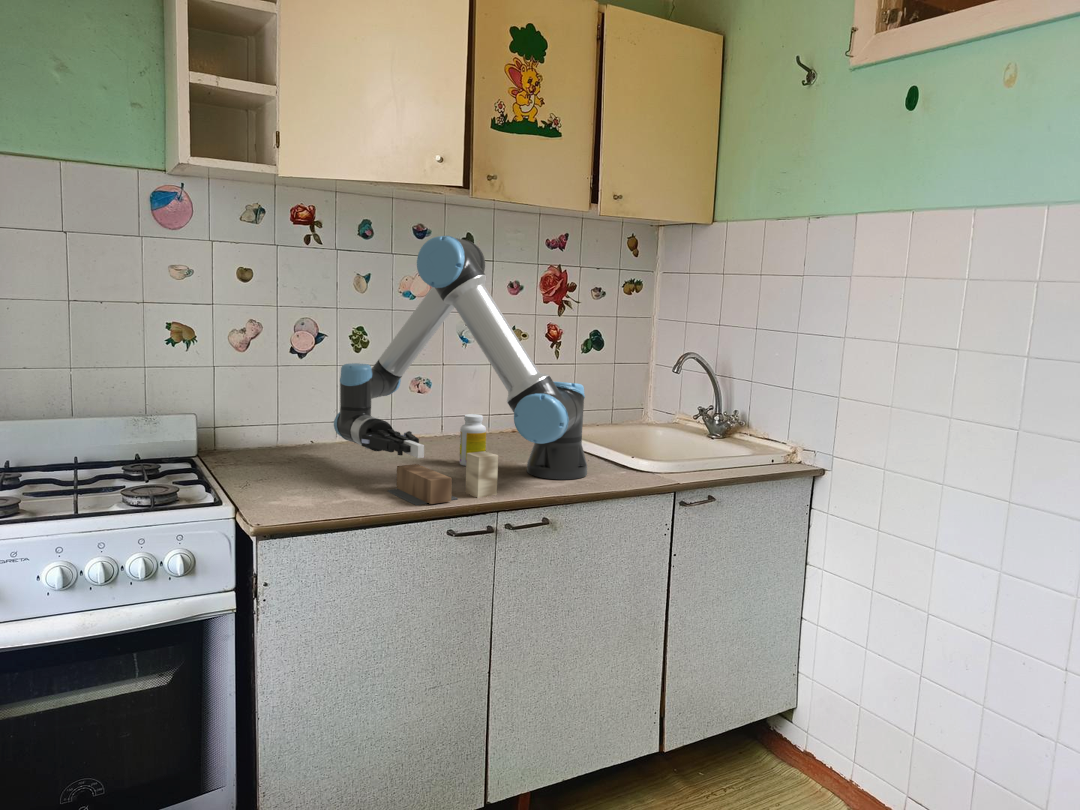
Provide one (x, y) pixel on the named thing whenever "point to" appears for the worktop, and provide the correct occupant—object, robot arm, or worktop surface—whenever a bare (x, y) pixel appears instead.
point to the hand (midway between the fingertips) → (421, 451)
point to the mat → (411, 497)
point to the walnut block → (424, 483)
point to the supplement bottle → (472, 436)
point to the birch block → (481, 474)
